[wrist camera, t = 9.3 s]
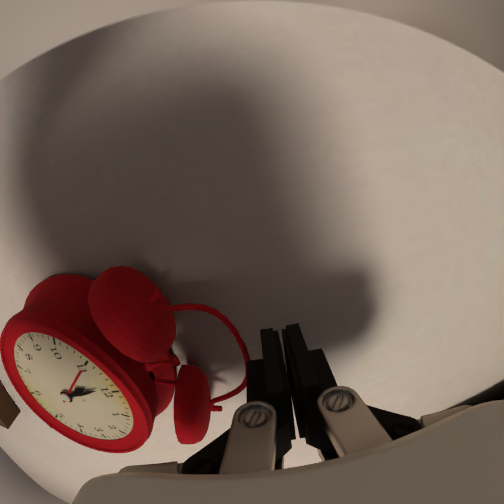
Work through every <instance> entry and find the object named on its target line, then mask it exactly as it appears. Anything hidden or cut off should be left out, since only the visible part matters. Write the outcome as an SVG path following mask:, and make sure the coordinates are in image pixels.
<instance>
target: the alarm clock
mask: <svg viewBox="0 0 504 504" xmlns="http://www.w3.org/2000/svg"><path fill="white" fill-rule="evenodd" d="M183 310H198V311H203V312H207V313H209V314H211V315H214V316H215V317H217V318H218V319H220V320H221V321H222V322H223V323H224V324H225V325H226V326H227V327H228V328H229V330H230V331H231V333H232V334H233V336H234V337H235V339H236V341H237V343H238V345H239V347H240V349H241V352H242V354H243V357H244V361H245V367H246V361H250V357H249V354H248V351H247V348H246V345H245V343H244V341H243V340H242V338H241V336H240V334H239V332H238V331H237V329H236V328H235V326H234V325H233V324H232V323H231V321H230V320H229V319H228V318H227V317H226V316H225V315H223V314H222V313H220V312H219V311H218V310H216V309H214V308H212V307H209V306H206V305H202V304H192V303H187V304H180V305H171V306H170V304H169V303H168V301H167V299H166V297H165V295H164V294H163V293H162V292H161V290H160V289H159V288H158V287H157V286H156V284H155V283H154V282H153V281H151V280H150V279H149V278H148V277H147V276H145V275H144V274H143V273H141V272H139V271H138V270H136V269H134V268H132V267H127V266H115V267H110V268H109V269H107V270H105V271H104V272H102V273H101V274H100V275H99V276H98V277H97V278H96V279H95V280H92V279H90V278H87V277H83V276H78V275H71V274H62V275H55V276H52V277H49V278H47V279H45V280H43V281H42V282H40V283H39V284H38V285H36V286H35V287H34V288H33V289H32V291H31V292H30V293H29V295H28V297H27V299H26V302H25V305H24V308H23V310H22V311H20V312H19V313H17V314H16V315H14V316H13V317H12V318H11V319H9V320H8V322H7V323H6V325H5V328H4V329H3V332H2V334H1V338H0V353H1V358H2V362H3V365H4V368H5V370H6V373H7V375H8V377H9V379H10V381H11V383H12V384H13V386H14V388H15V389H16V391H17V392H18V394H19V395H20V396H21V398H22V399H23V400H24V402H25V403H26V404H27V405H28V406H29V407H30V409H31V410H32V411H33V412H34V413H35V414H36V415H37V416H39V417H40V418H41V419H42V420H43V421H44V422H45V423H47V424H48V425H49V427H51V428H53V429H54V430H56V431H57V432H59V433H60V434H62V435H64V436H65V437H67V438H69V439H71V440H73V441H74V442H77V443H79V444H81V445H83V446H86V447H89V448H92V449H95V450H98V451H103V452H109V453H126V452H131V451H134V450H136V449H138V448H140V447H141V446H142V445H143V444H144V443H145V441H146V440H147V439H148V438H149V437H150V435H151V432H152V429H153V423H154V419H155V417H156V416H157V415H159V414H160V413H161V412H163V411H164V410H165V409H166V408H167V406H168V405H169V403H170V402H171V399H172V397H173V394H174V390H175V395H174V424H175V432H176V435H177V438H178V441H179V442H180V443H181V444H195V443H197V442H200V441H201V440H202V439H203V438H204V436H205V435H206V432H207V430H208V426H209V421H210V413H211V411H222V406H213V405H214V403H216V402H220V401H223V400H226V399H228V398H230V397H232V396H234V395H236V394H238V393H240V392H241V391H242V390H243V389H245V387H246V386H247V382H246V372H245V378H244V380H243V382H242V384H241V385H240V386H239V387H237V388H236V389H235V390H233V391H231V392H229V393H227V394H225V395H222V396H219V397H216V398H213V399H212V400H211V395H210V387H209V383H208V379H207V377H206V375H205V373H204V372H203V371H202V369H200V368H198V367H197V366H193V365H182V366H181V368H180V370H179V373H178V377H177V381H176V372H175V366H179V365H180V364H181V363H180V361H179V359H178V357H177V356H176V355H172V356H171V354H170V351H169V348H170V347H171V345H172V343H173V341H174V338H175V334H176V322H175V317H174V314H173V312H174V311H183ZM175 385H176V386H175Z"/></svg>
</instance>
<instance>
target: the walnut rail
mask: <svg viewBox="0 0 504 504" xmlns="http://www.w3.org/2000/svg"><path fill="white" fill-rule="evenodd" d="M19 413H20V410H19V409H18V407H17V406H16V405H15V403H14V402H13V400H12V399H11V397H10V396H9V394H8V393H7V391H6V390H5V388H4V387H3V385H2V384H1V382H0V425H1V426H3V427H5V428H7V429H9V427H10V426H11V424H12V423H13V421H14V420H15V418H16V417H17V416H18V414H19Z"/></svg>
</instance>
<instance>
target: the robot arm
mask: <svg viewBox="0 0 504 504" xmlns="http://www.w3.org/2000/svg"><path fill="white" fill-rule="evenodd" d="M260 335H261V344H262V354H263V359H257V360H250V361H246V382H247V403H245V404H243V405H242V406H240V407H239V408H238V409H237V410H236V411H235V413H234V416H233V420H232V424H231V428H230V429H228V430H227V431H226V432H224V433H223V434H222V435H220V436H219V437H218V438H216V439H215V440H214V441H212V442H211V443H210V444H208V445H207V446H205V447H204V448H203V449H201V450H200V451H198V452H197V453H195V454H194V455H192V456H191V457H190V458H188V459H187V460H186V461H185V462H184V463H179V464H178V463H177V461H175V462H167V463H159V464H148V465H134V466H127V467H124V468H123V469H121V470H120V471H119V472H118V473H113V474H107V475H102V476H98V477H95V478H93V479H91V480H89V481H88V482H86V483H85V484H84V485H83V486H82V488H81V489H80V490H79V492H78V494H77V495H76V497H75V499H74V501H73V503H72V504H504V400H497V401H490V402H485V403H481V404H478V405H475V406H470V405H461V406H458V407H455V408H451V409H448V410H444V411H440V412H437V413H433V414H429V415H424V416H421V418H420V419H418V420H416V419H414V418H411V417H408V416H404V415H400V414H396V413H393V412H389V411H385V410H382V409H378V408H375V407H371V406H368V405H366V404H365V403H364V402H363V400H362V399H361V398H360V396H359V395H358V394H357V392H356V391H354V390H353V389H351V388H349V387H345V386H337V383H336V381H335V378H334V376H333V374H332V371H331V369H330V367H329V364H328V362H327V360H326V357H325V355H324V352H323V350H322V349H321V348H320V349H315V350H310V351H308V348H307V346H306V343H305V340H304V337H303V334H302V331H301V329H300V326H299V323H297V324H291V325H286V329H282V337H283V345H284V353H285V360H286V366H285V361H284V357H283V352H282V347H281V342H280V338H279V333H278V330H275V331H273V328H267V329H261V330H260ZM286 368H287V371H286ZM291 397H292V399H291ZM292 402H293V407H294V412H295V416H296V421H297V426H298V431H299V436H300V438H304V437H305V439H306V444H309V445H311V446H313V447H315V448H317V450H318V454H319V456H320V458H321V460H322V462H319V463H314V464H310V465H304V466H299V467H293V468H287V469H284V455H285V454H286V453H287V452H288V451H289V450H290V449H291V448H292V445H291V440H294V439H296V436H295V426H294V417H293V408H292Z"/></svg>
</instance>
